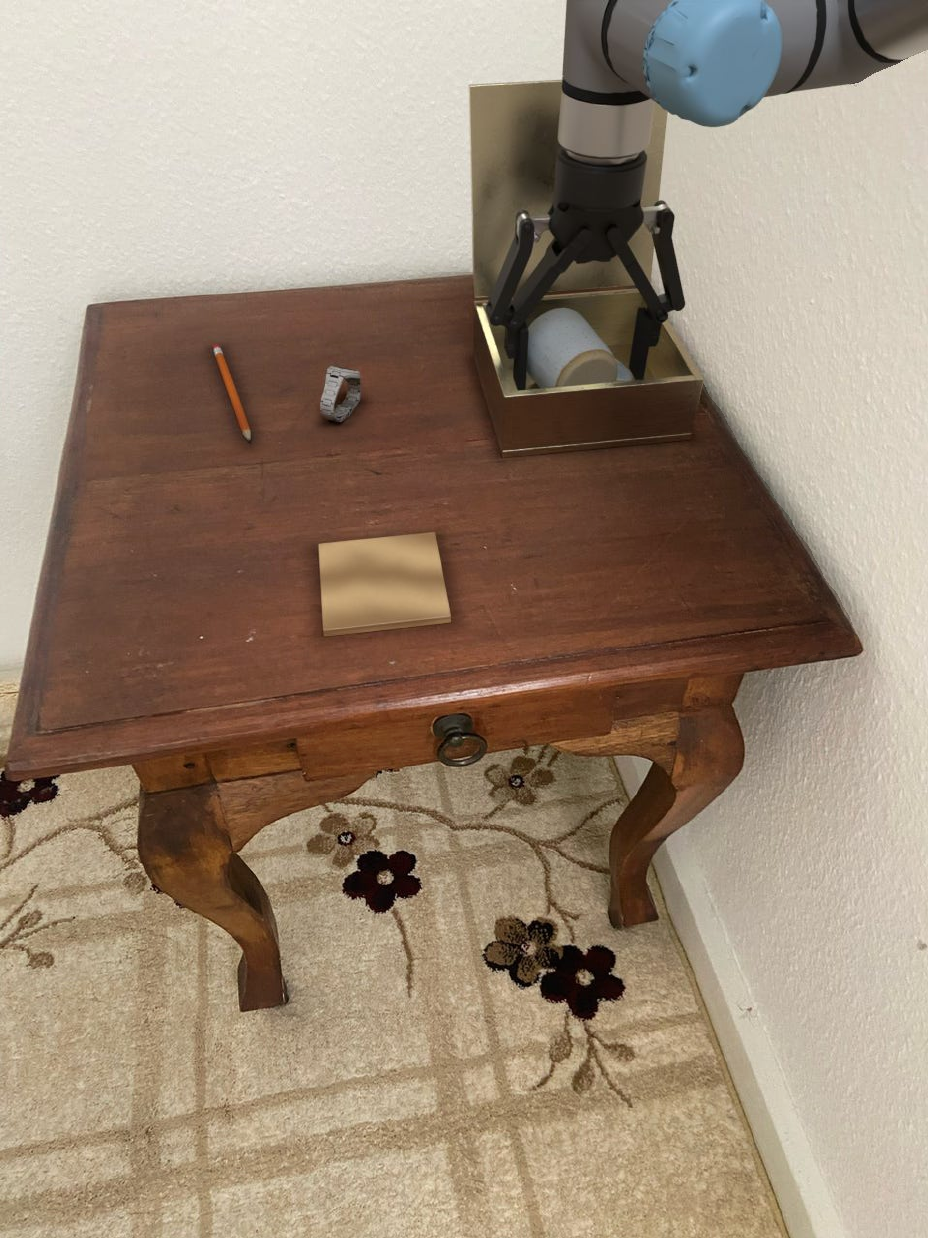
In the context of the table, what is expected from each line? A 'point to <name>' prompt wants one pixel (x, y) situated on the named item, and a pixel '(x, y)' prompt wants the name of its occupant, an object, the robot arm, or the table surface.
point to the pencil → (232, 392)
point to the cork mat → (382, 584)
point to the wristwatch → (332, 388)
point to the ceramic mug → (569, 352)
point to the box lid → (536, 182)
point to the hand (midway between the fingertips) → (577, 379)
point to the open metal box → (589, 385)
